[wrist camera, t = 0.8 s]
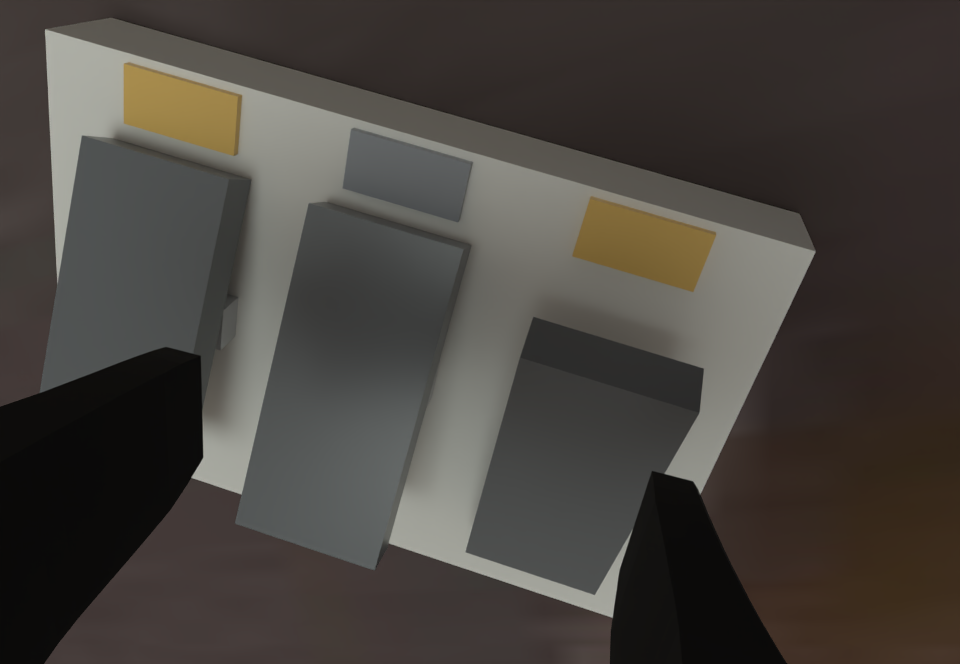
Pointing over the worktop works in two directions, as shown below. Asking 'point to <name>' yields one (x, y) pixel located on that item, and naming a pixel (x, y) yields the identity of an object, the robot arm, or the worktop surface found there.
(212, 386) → the switch panel
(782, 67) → the worktop surface
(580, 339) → the rocker
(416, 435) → the rocker
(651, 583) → the robot arm
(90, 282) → the rocker
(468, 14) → the worktop surface
